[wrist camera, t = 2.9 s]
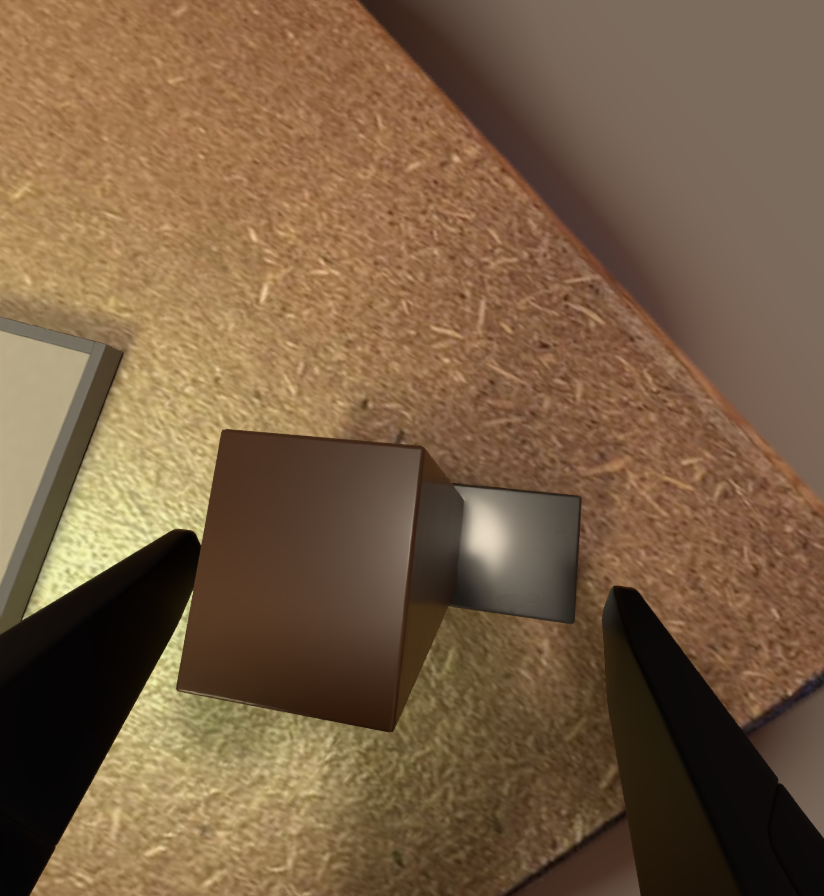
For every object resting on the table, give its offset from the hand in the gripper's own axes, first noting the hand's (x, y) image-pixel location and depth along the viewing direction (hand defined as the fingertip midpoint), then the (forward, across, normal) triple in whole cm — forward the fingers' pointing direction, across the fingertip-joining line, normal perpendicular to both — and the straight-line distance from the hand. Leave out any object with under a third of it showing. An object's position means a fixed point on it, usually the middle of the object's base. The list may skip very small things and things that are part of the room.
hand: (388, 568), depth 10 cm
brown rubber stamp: (+6, 0, +6) cm, 8 cm away
